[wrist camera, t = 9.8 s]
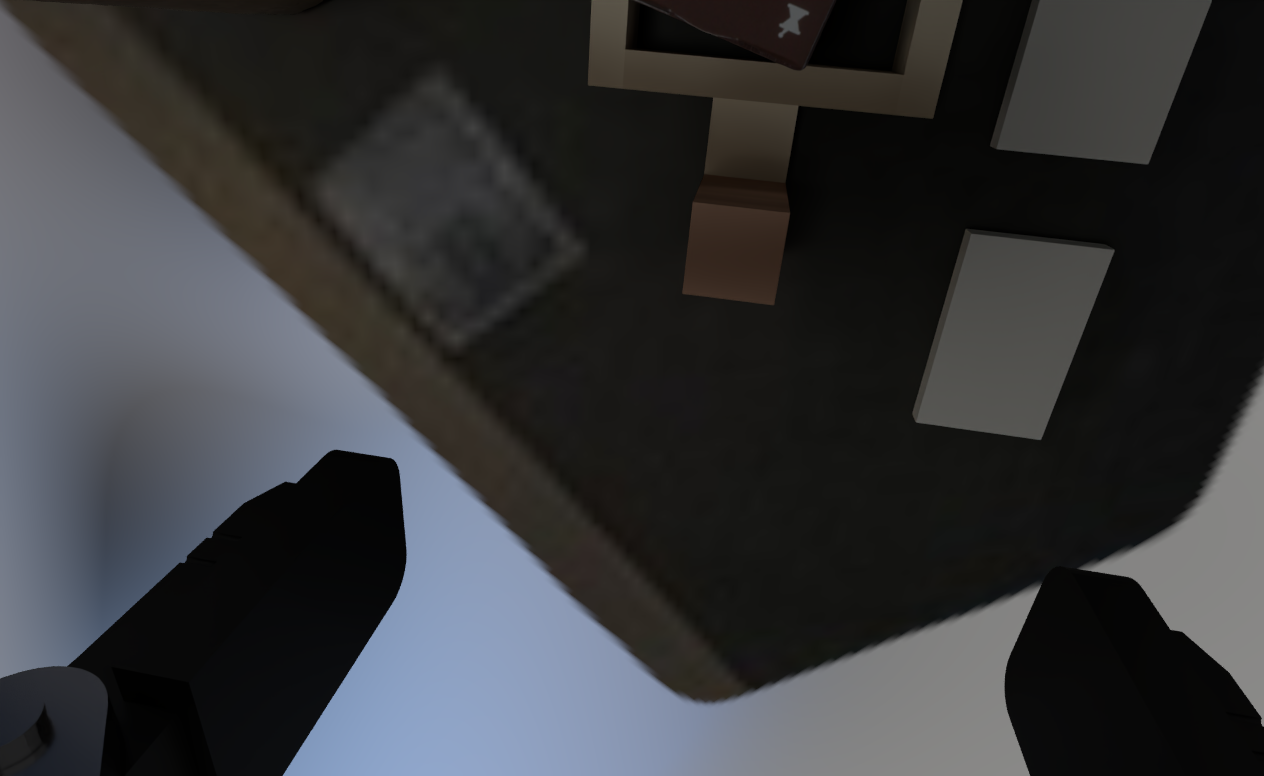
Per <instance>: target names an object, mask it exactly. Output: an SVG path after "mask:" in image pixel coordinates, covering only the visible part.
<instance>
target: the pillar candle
mask: <svg viewBox="0 0 1264 776" xmlns="http://www.w3.org/2000/svg"><path fill="white" fill-rule="evenodd" d="M34 1H45V2H62V3H76V4H96V5H107V6H108V5H112V6H128V7H150V8H158V9H173V10H178V11H206V12H218V13H233V14H270V15H277V14H290V15H294V14H297V13H300V12H302V11H304V10H306V9H308V8H311V7H313V6H316V5H318V4H319V3H321V2H322V1H323V0H34Z"/></svg>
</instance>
